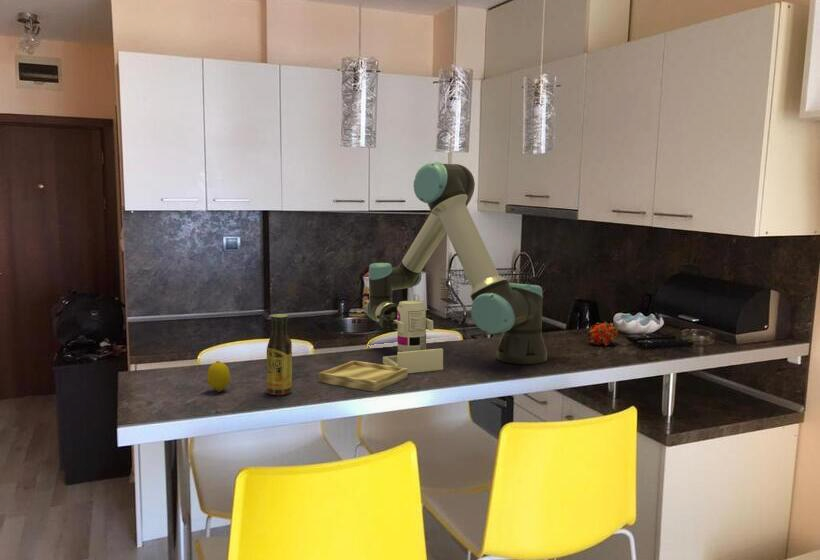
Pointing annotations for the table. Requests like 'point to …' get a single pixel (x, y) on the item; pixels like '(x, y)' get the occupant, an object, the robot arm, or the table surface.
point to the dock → (417, 360)
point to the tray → (363, 375)
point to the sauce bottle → (279, 357)
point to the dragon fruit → (603, 333)
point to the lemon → (218, 376)
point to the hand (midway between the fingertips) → (417, 326)
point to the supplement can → (412, 326)
